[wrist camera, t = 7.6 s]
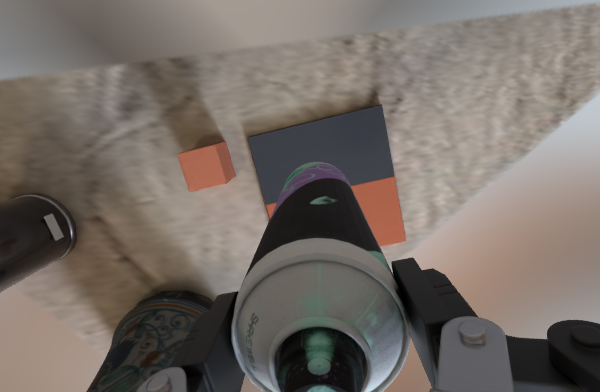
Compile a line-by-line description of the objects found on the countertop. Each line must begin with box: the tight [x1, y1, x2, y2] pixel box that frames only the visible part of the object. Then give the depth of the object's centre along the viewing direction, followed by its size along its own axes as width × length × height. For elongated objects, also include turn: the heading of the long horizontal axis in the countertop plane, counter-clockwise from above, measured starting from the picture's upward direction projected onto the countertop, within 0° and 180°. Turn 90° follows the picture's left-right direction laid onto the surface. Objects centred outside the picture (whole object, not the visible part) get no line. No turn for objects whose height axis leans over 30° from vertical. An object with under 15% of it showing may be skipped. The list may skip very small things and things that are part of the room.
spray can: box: [231, 162, 410, 392], centre depth 17 cm, size 6×6×20 cm
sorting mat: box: [248, 105, 406, 246], centre depth 40 cm, size 16×17×1 cm
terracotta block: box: [177, 141, 236, 192], centre depth 38 cm, size 4×4×4 cm
